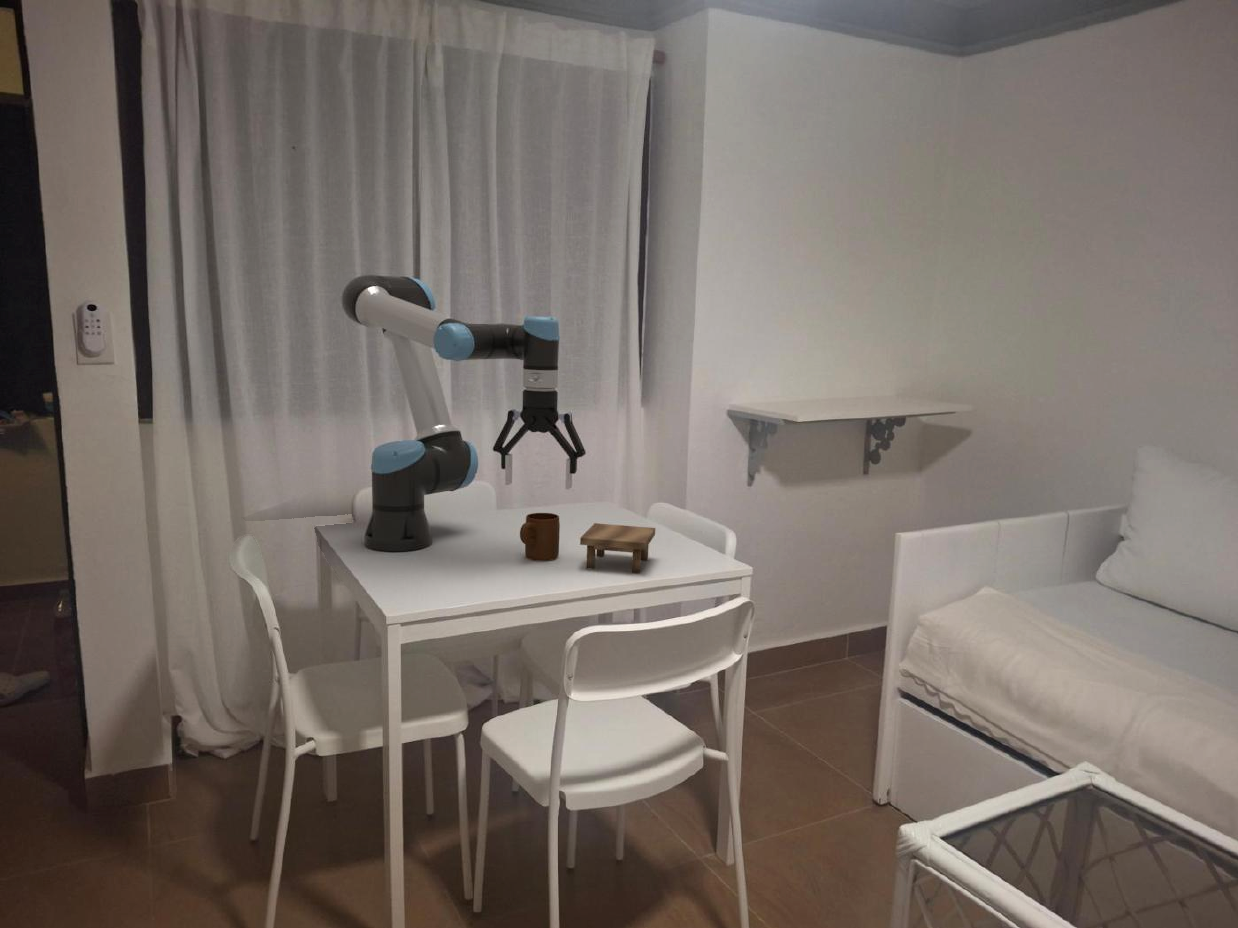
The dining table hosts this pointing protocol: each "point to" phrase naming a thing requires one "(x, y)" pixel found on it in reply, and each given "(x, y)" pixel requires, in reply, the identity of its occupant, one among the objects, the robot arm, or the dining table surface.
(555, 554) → the mug
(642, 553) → the stool
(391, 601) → the dining table surface
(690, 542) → the dining table surface
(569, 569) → the dining table surface
